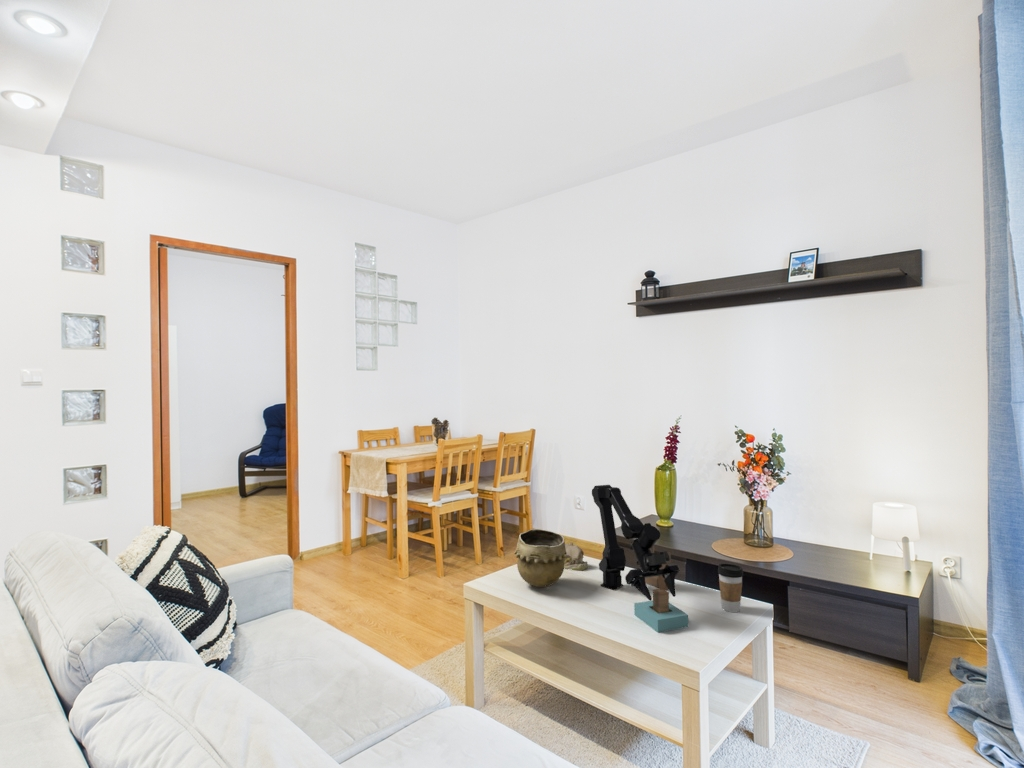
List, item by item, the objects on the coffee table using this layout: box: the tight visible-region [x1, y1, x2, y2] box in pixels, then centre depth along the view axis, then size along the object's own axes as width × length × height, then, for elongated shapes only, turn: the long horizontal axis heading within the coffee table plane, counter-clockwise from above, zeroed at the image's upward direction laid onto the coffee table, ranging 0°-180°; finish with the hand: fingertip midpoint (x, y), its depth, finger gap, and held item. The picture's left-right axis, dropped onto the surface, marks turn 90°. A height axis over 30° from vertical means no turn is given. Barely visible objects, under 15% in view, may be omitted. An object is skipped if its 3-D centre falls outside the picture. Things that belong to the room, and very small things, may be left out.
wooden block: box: [645, 545, 672, 591], centre depth 215 cm, size 4×11×18 cm, turn 39°
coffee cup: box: [717, 563, 744, 613], centre depth 192 cm, size 8×8×15 cm
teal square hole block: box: [633, 599, 689, 633], centre depth 183 cm, size 14×12×4 cm
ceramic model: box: [564, 542, 588, 571], centre depth 239 cm, size 14×11×10 cm
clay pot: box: [513, 528, 567, 588], centre depth 216 cm, size 21×21×20 cm
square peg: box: [652, 588, 670, 614], centre depth 183 cm, size 4×4×10 cm
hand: (662, 598), depth 182 cm, fingers open, 9 cm apart
